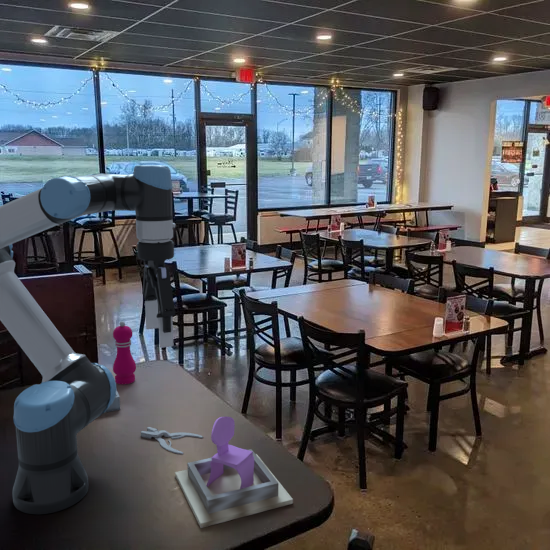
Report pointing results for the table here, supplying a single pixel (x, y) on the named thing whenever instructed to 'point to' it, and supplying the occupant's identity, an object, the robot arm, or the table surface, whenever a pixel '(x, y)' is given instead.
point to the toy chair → (230, 454)
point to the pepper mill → (123, 355)
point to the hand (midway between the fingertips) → (159, 337)
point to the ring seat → (229, 492)
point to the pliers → (158, 434)
